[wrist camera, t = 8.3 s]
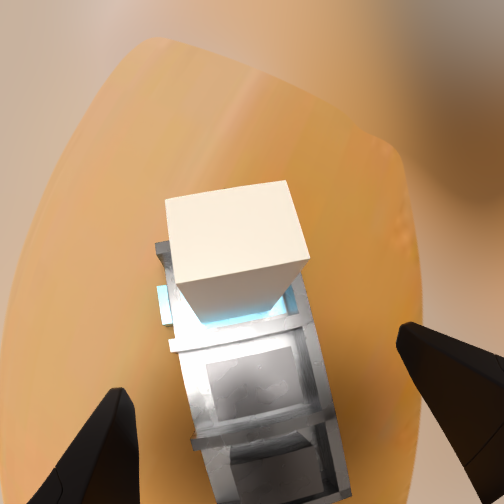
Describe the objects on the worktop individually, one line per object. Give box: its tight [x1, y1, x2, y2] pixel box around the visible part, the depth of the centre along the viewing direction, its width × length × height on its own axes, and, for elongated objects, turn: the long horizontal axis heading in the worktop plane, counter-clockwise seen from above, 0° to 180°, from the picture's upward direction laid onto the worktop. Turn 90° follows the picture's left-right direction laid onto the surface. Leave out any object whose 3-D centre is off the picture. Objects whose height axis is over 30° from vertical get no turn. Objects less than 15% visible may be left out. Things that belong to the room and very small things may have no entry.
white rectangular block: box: [165, 180, 310, 324], centre depth 17 cm, size 4×5×11 cm
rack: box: [155, 241, 352, 504], centre depth 18 cm, size 20×10×5 cm, turn 12°
